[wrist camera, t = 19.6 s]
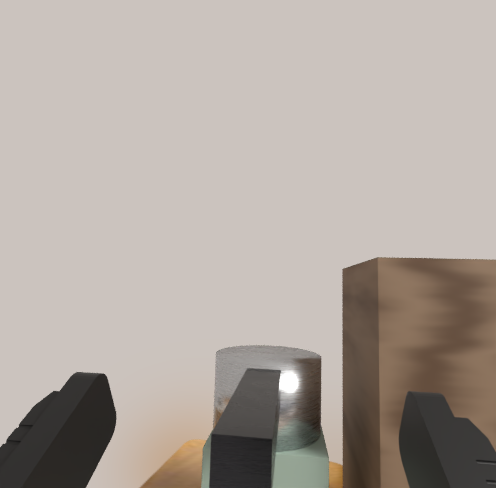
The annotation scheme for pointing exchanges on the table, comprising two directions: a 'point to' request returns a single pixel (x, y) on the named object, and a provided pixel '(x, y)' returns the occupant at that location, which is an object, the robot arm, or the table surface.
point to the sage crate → (289, 466)
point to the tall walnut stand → (413, 354)
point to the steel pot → (262, 411)
